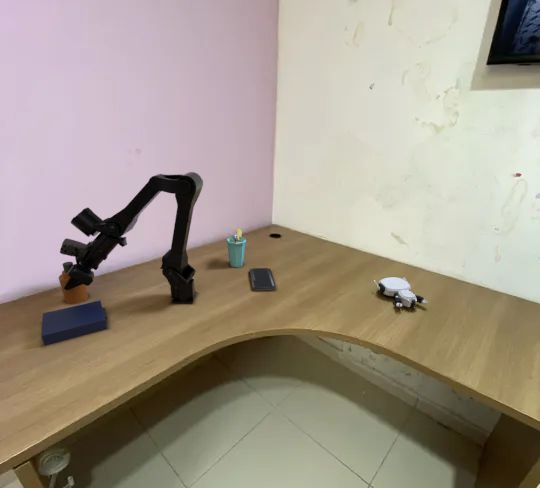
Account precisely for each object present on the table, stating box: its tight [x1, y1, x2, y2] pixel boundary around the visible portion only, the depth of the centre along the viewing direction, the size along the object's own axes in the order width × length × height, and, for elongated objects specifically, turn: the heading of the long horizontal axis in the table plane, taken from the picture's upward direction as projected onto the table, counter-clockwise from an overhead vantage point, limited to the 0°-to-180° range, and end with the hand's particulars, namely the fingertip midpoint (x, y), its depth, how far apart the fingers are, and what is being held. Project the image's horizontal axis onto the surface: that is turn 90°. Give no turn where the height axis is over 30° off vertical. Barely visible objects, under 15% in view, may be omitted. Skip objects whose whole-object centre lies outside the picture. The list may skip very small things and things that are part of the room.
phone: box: [249, 267, 276, 292], centre depth 112 cm, size 8×1×15 cm
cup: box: [225, 227, 247, 268], centre depth 119 cm, size 14×8×15 cm, turn 1°
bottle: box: [58, 261, 89, 305], centre depth 94 cm, size 6×6×12 cm
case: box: [41, 300, 108, 346], centre depth 84 cm, size 15×11×3 cm
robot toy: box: [373, 276, 429, 308], centre depth 104 cm, size 12×4×15 cm
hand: (67, 284), depth 94 cm, fingers closed on bottle, 6 cm apart
